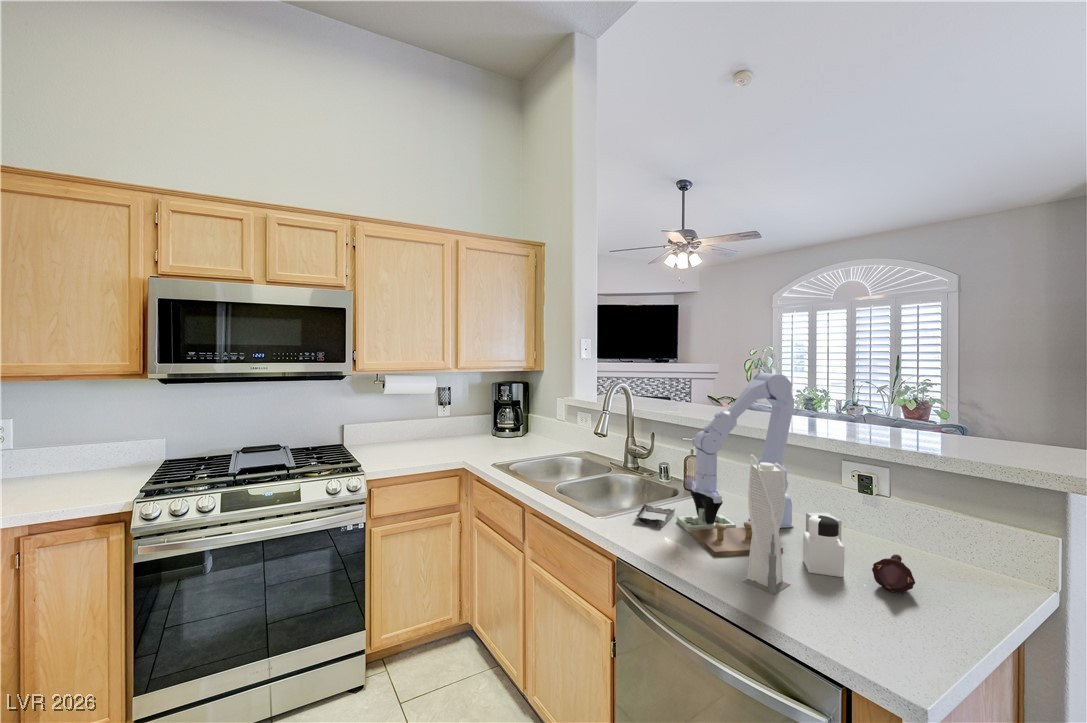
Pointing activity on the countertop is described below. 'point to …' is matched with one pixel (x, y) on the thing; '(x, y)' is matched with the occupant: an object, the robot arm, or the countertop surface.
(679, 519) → the panel
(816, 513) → the skincare box
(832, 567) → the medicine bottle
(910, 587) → the dark maroon knobbed disc
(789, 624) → the countertop surface
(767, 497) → the skyscraper
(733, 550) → the board
